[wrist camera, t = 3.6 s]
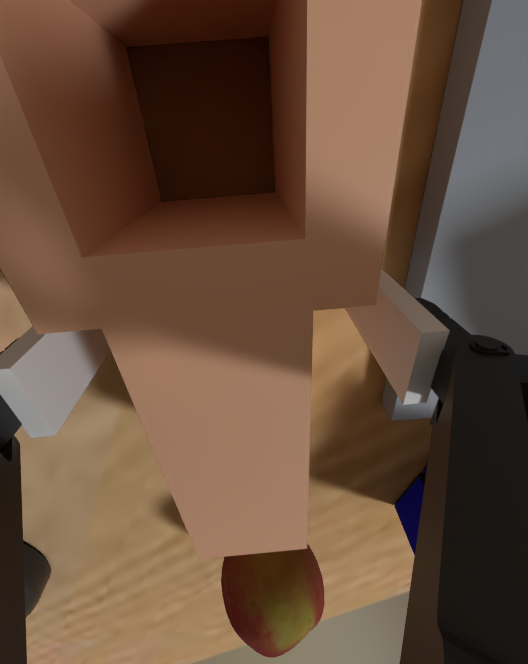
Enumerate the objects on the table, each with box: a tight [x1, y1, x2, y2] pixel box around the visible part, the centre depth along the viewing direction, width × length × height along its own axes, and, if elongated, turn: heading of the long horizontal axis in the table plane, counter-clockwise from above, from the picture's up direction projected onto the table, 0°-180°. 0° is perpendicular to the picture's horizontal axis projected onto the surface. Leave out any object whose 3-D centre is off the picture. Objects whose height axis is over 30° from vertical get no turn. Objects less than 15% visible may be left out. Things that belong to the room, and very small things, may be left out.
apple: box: [221, 544, 324, 657], centre depth 23 cm, size 8×8×8 cm
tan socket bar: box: [0, 0, 422, 559], centre depth 11 cm, size 20×8×7 cm, turn 4°
